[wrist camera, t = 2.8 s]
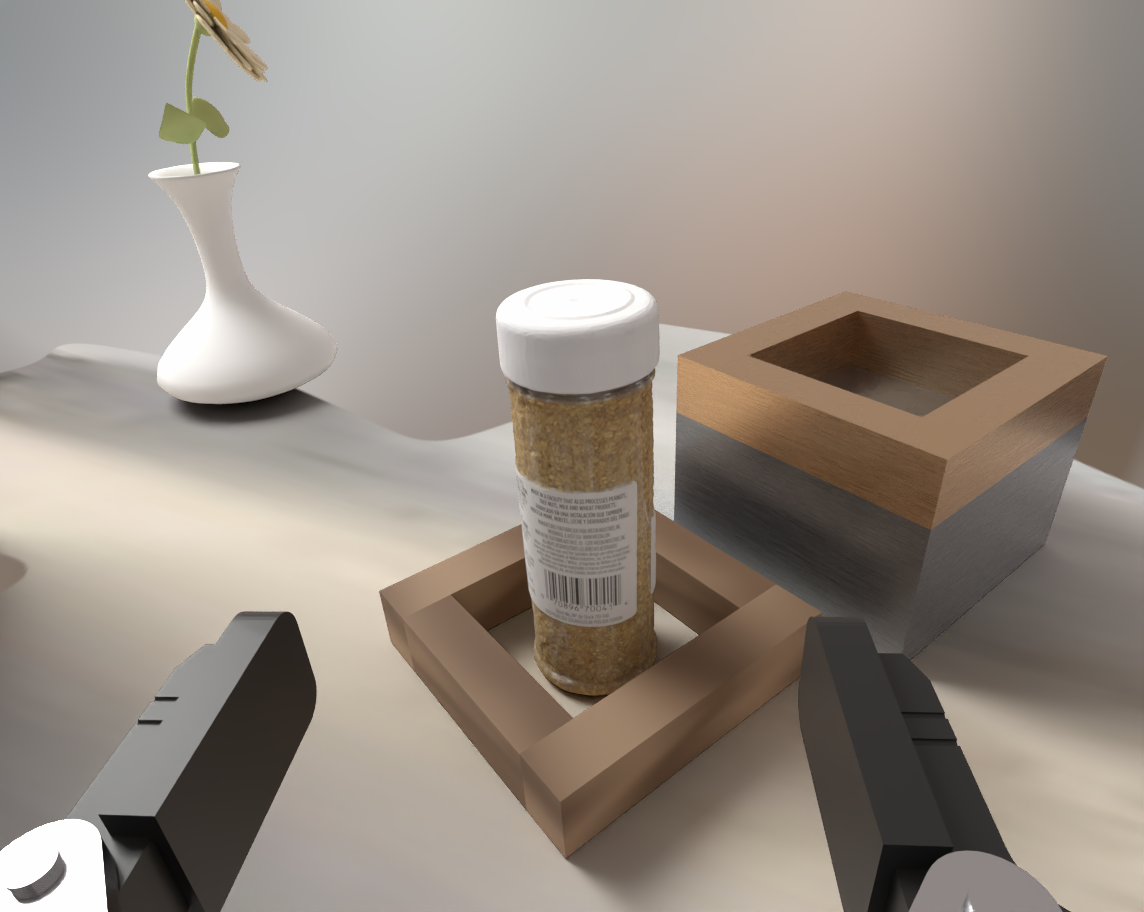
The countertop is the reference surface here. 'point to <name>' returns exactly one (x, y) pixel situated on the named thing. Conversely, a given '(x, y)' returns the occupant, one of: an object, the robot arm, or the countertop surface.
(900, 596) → the grey wooden square box
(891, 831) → the robot arm
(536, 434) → the seasoning jar
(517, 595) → the walnut stand
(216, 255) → the flower in vase
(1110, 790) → the countertop surface
